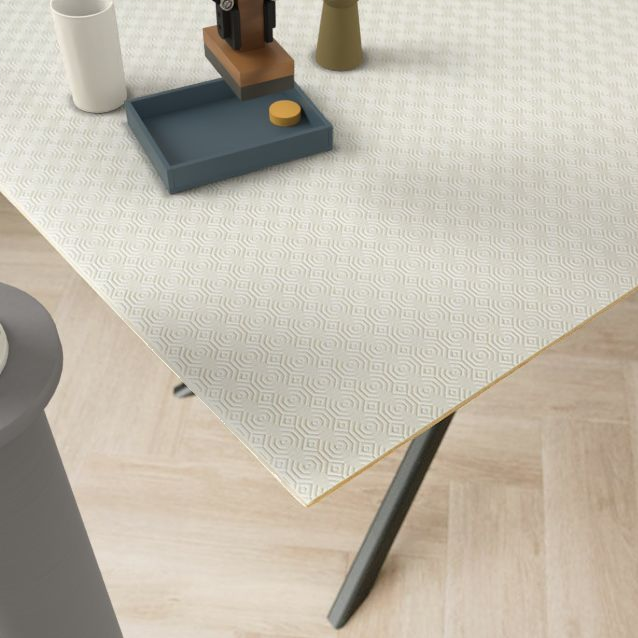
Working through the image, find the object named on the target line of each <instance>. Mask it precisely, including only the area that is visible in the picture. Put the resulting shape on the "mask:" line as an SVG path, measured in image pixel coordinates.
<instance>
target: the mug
mask: <svg viewBox="0 0 638 638" xmlns="http://www.w3.org/2000/svg"><path fill="white" fill-rule="evenodd" d="M49 7H50V11H51V17H52V20H53V26H54V30H55V33H56V37H57V41H58V45H59V50H60V54H61V57H62V62H63V66H64V69H65V75H66V78H67V83H68V86H69V90H70V93H71V97H72V100H73V103H74V105H75V107H76V108H78V109H79V110H81V111H84V112H86V113H93V114H100V113H101V114H102V113H108V112H111V111H115V110H116V109H118V108H120V107H122V106H123V105H124V101H125V100H128V99H127V98H128V91H127V84H126V83H127V82H126V77H125V76H126V75H125V68H124V62H123V53H122V47H121V41H120V34H119V27H118V19H117V14H116V8H115V3H114V0H50V2H49Z"/></svg>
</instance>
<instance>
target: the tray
mask: <svg viewBox="0 0 638 638" xmlns="http://www.w3.org/2000/svg"><path fill="white" fill-rule="evenodd" d="M282 100H288V101H293V102H295V103H297V104H298V105H299V106H300V108H301V119H300V121H299V122H298V123H297V124H295V125H293V126H288V127H282V126H277V125H275V124H273V123H272V122H271V121H270V115H269V108H270V106H271V105H272V104H273V103H275V102H277V101H282ZM123 105H124V110H125V115H126V121H127V126H129V128H130V130H131V132H132V134H133V135H134V137H135V138H136V140H137V141H138V144H139V145H140V146H141V148H142V150H143V152H144V153H145V154H146V157H147V158H148V160H149V162H150V163H151V165H152V167H153V168H154V171H155V172H156V173H157V175H158V177H159V179H160V180H161V182H162V184H163V185H164V187H165V188H166V190H167V192H168V193H169V194H170V195H172V194H176V193H180V192H184V191H186V190H187V191H188V190H191V189H195V188H198V187H202V186H206V185H210V184H212V183H216V182H220V181H223V180H228V179H232V178H234V177H239V176H242V175H246V174H249V173H252V172H256V171H260V170H263V169H267V168H271V167H274V166H277V165H278V166H279V165H280V164H285V163H290V162H292V161H295V160H296V161H297V160H301V159H303V158H306V157H310V156H314V155H317V154H322V153H325V152H328V151H332V150H333V149H334V146H333V145H334V125H333V124H332V123H331V122H330V121H329V119H328V118H327V117H326V116H325V115H324V113H322V111H321V110H320V108H318V107H317V105H316V104H315V103H314V102H313V100H312V99H311V98H310V97H309V96H308V95H307V93H305V91H304V89H302V88H301V86H299V84H298V83H297V82H296V81H295V80H294V89H291V90H287V91H283V92H279V93H275V94H271V95H267V96H263V97H259V98H255V99H251V100H247V101H243V102H242V101H241V100H240V99H239V98H238V97H237V95H236V94H235V93H234V92H233V90H232V89H231V88H230V87H229V85H228V84H227V83H226V82H225V80H224V79H223V78H222V77H217V78H214V79H209V80H205V81H201V82H200V81H199V82H196V83H193V84H189V85H184V86H180V87H176V88H172V89H166V90H164V91H159V92H154V93H150V94H147V95H142V96H141V95H140V96H138V97H134V98H129V99H126V100H125V101H124V104H123Z"/></svg>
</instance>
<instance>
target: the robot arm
mask: <svg viewBox="0 0 638 638" xmlns="http://www.w3.org/2000/svg"><path fill="white" fill-rule="evenodd" d="M211 1H212V2H213V3H215V4H214V5H215V18H216V19H215V20H216V25H217V30H218V34H219V36H220V37H221V39H224V40H225V41H226V42H227V43H228V44H229V46H230V47H231V48H232V49H233V50H234V51H235V50H240V48H241V26H240V11H239V9H238V8H237V7H236V6H235V4H234V0H211ZM263 1H264V4H263V6H264V40H265V42H266V43H271V42H273V38H274V29H276V27H277V11H276V10H277V9H276V8H277V7H276V6H277V5H276V4H277V3H276V1H277V0H263ZM8 352H9V344H8V341H7V337H6V334H5V332H4V329H3V327H2V325H1V324H0V374H1V372H2V370H3V368H4V367H5V365H6V361H7V358H8Z"/></svg>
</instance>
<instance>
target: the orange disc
mask: <svg viewBox="0 0 638 638" xmlns="http://www.w3.org/2000/svg"><path fill="white" fill-rule="evenodd" d="M269 115H270V121H271V122H272V123H273V124H275V125H277V126H282V127H288V126H293V125H295V124H297V123H298V122H299V121H300V119H301V108H300V106H299V105H298V104H297V103H295V102H293V101H288V100H282V101H277V102H275V103H273V104H272V105H271V106H270V108H269Z"/></svg>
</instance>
